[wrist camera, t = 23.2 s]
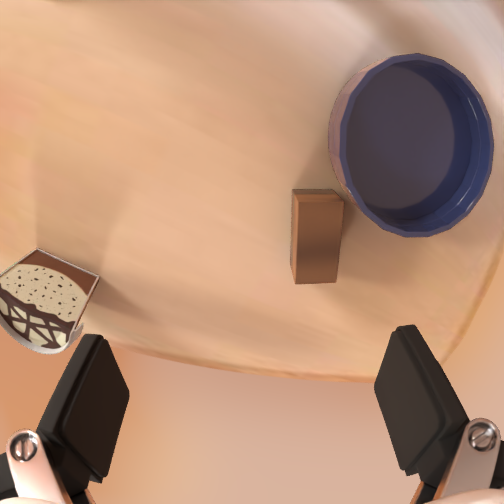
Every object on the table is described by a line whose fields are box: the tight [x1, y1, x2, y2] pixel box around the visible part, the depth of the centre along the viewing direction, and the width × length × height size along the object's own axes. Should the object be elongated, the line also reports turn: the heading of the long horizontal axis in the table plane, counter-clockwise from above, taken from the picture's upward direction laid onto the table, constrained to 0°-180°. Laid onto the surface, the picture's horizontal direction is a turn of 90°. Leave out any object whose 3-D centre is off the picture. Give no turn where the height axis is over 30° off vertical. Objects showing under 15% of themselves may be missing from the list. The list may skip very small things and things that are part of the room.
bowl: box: [328, 53, 494, 237], centre depth 25 cm, size 17×17×4 cm
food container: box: [0, 248, 100, 354], centre depth 29 cm, size 12×6×10 cm, turn 66°
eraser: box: [290, 189, 344, 284], centre depth 29 cm, size 8×4×4 cm, turn 1°
